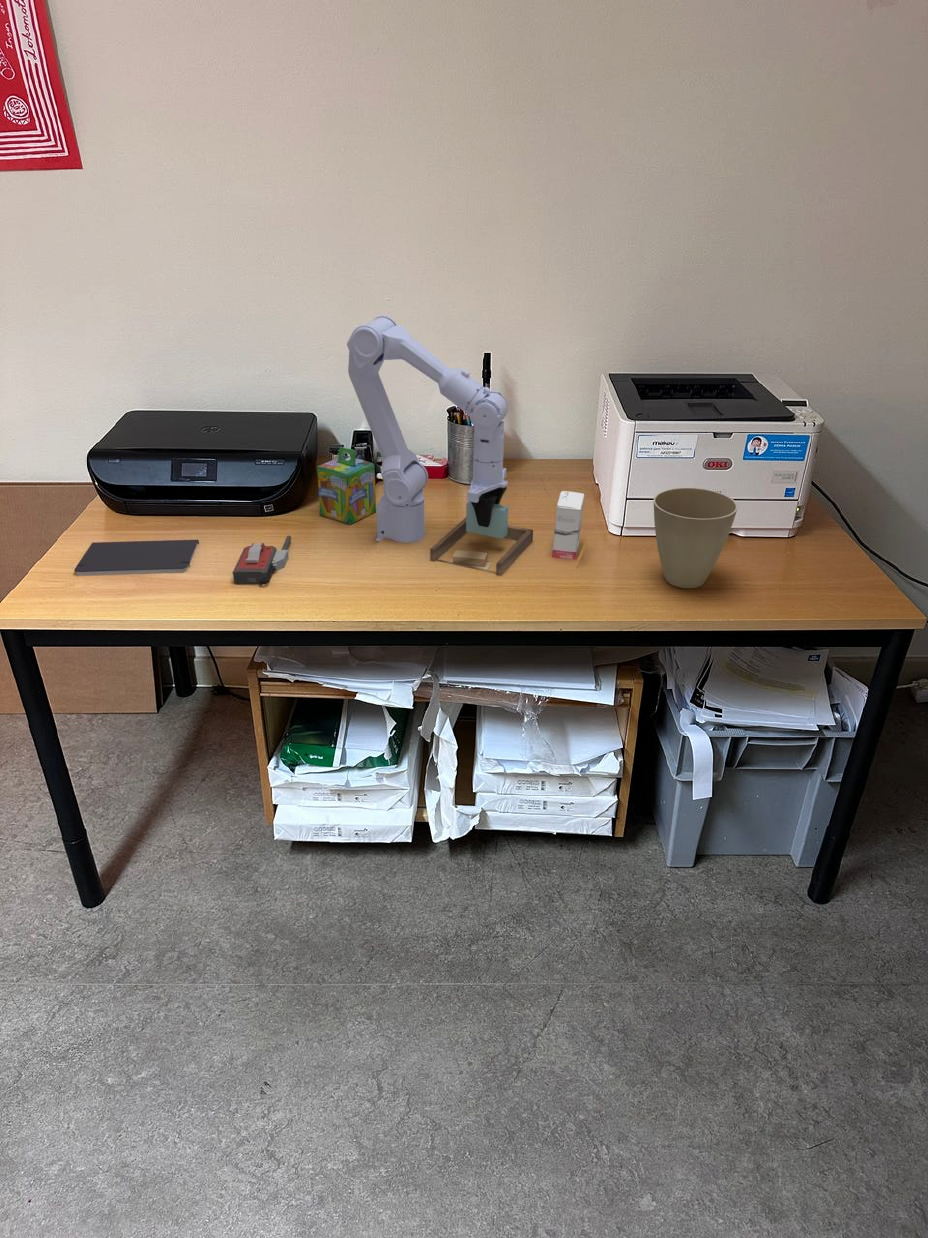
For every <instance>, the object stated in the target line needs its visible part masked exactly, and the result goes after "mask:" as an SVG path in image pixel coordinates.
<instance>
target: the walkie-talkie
mask: <svg viewBox="0 0 928 1238" xmlns="http://www.w3.org/2000/svg"><path fill="white" fill-rule="evenodd" d="M291 540H292V536H291V535H287V536H286V538H285V540H284V543H283V545H282V548H281V549H278V548H277V547H275V546H273V545H265V543H264V542H253V543H251V545H247V546H246V547H244V548H243V550H242V552H241V554H240V556H239V557H238V560H237V562H236V565H235V566H234V568H233V571H232V575H233V576H232V577H233V578H232V579H233V583H234V584H235V585H237V586H238V585H241V586H242V585H244V586H245V585H250V586H252V585H253V586H254V585H257V586H258V585H261V586H262V585H266V584H268V583H269V582H270V579H271V577H272V575H273V573H275V572H278V571H280V570H281V569H282V570H283V569H284V568H285V566H286V563H287V561H288V560H289V550H288V549H289V547H290V543H291Z"/></svg>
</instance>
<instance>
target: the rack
mask: <svg viewBox="0 0 928 1238" xmlns="http://www.w3.org/2000/svg"><path fill="white" fill-rule="evenodd" d="M467 533H469V532H468V531H466V517H464V518H463V519H462V520H461V521H460V522H459V523H458V524H457V525H455V526H454V527H453V528H452V529H451V530H450V531H449V532H448V533H446V534H445V535H444V536H443V537H442V538H441V539H439V540H438V541H437V542H436V543H435V544H434V545H433V546H432V547H430V551H429V552H430V553H429V555H430V561H431V562H439V563H443V564H448V565H449V564H450V565H453V566H457V567H464V568H467V569H473V570H477V571H482V572H485V573H486V572H487V573H490V574H491V573H492V574H495V575H496V576H499V577H500V576H502V575H503V574H505V572H506V571H507V570H508V569H509V568H510V567H511V566H512V565H513V564H514V562H515V561H516V560H517V559H518V558H519V557H520V556H521V554H523V552H524V551H525V550H526V549H527V548H528V547H529V546H530V545H531V544H532V543H533V540H534V529H532V528H531V529H530V528H526V527H522V526H521V527H520V526H515V525H510V524H508V531H507V535H506V536H505V537H504V538H503V539H508V540H513V541H516V542H514V544H512V546H511V547H509V549H508V550H506V552H505V553H504V554H503V555H502V556H501V557H500V558H499V559H498V561H496V564H495V565H496V566H495V567H496V568H495V570H494V571H493V570H489V569H487V570H485V569H480V568H476V567H471V566H467V565H460V564H453V562H449V561H448V560H443V559H439V558H441V557H442V556H443V554H445V553H446V552H447V551H448V550H449V549H450V548H452V547H453V546H454V545H455V544H456V543H457V542H458V541H459V540H460V539H461V538H462V537H464V536H465V534H467Z"/></svg>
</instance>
